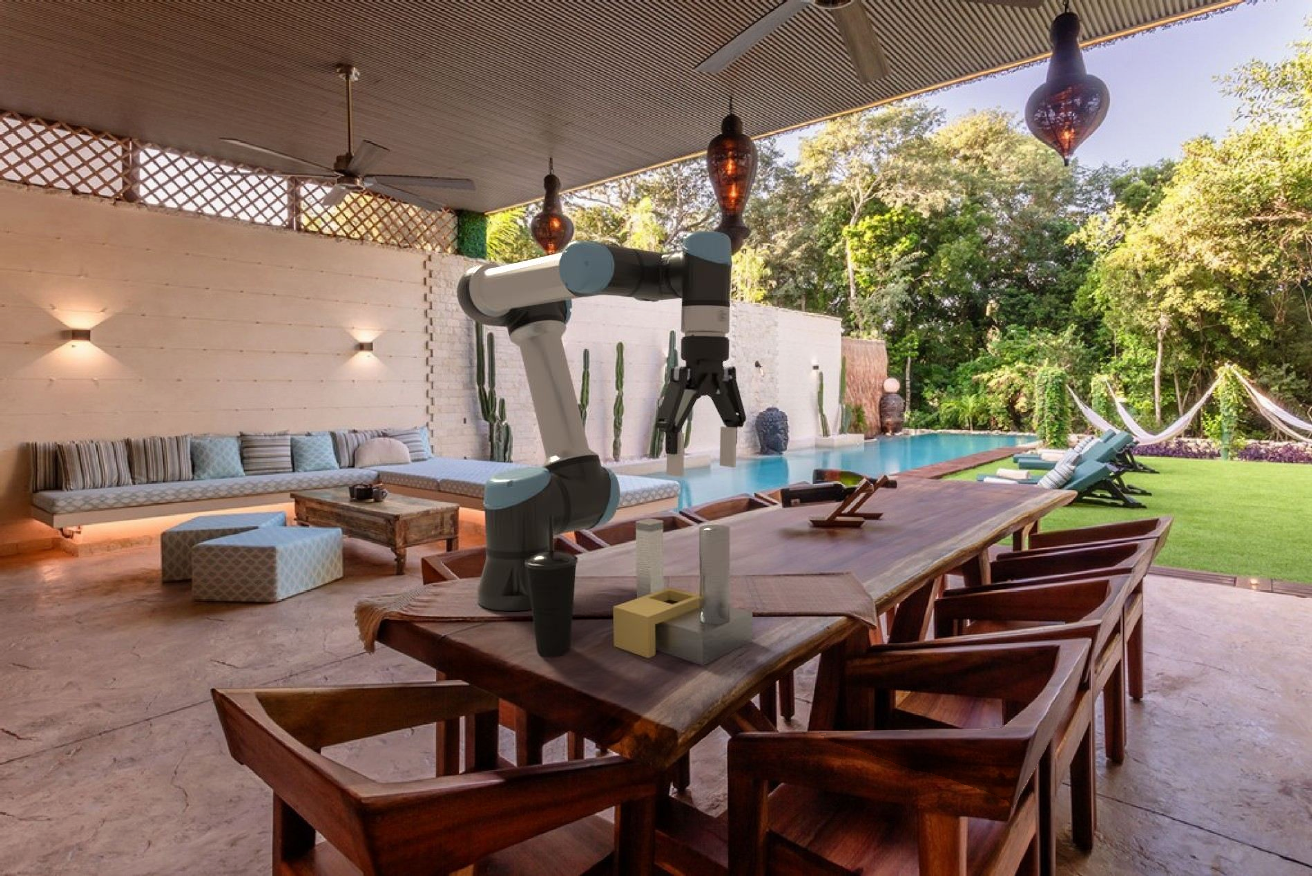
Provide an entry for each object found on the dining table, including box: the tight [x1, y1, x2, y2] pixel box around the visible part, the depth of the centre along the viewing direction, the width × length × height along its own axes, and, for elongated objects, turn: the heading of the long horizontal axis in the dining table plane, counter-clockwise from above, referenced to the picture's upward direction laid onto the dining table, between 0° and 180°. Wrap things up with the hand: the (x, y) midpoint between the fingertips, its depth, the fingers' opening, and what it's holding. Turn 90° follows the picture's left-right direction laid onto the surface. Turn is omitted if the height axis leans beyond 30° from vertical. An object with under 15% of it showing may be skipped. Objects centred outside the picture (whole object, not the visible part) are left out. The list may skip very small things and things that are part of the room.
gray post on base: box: [655, 524, 753, 666], centre depth 106 cm, size 15×12×18 cm
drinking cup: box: [525, 516, 579, 658], centre depth 103 cm, size 8×8×20 cm
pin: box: [635, 517, 665, 599], centre depth 119 cm, size 3×3×16 cm
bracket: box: [612, 586, 700, 659], centre depth 107 cm, size 7×13×6 cm, turn 138°
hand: (702, 470), depth 112 cm, fingers open, 13 cm apart
